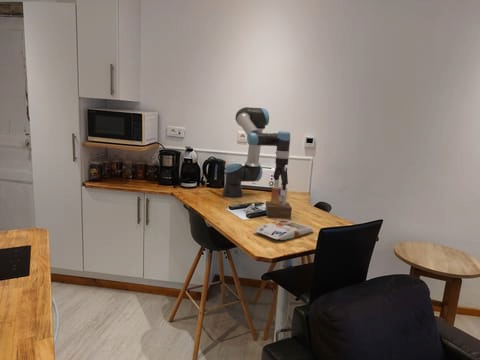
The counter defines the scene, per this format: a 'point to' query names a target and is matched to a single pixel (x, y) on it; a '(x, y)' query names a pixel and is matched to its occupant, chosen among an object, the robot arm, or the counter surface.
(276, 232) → the dog food
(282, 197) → the small box
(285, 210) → the walnut block
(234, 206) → the counter surface
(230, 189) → the robot arm
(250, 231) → the counter surface
